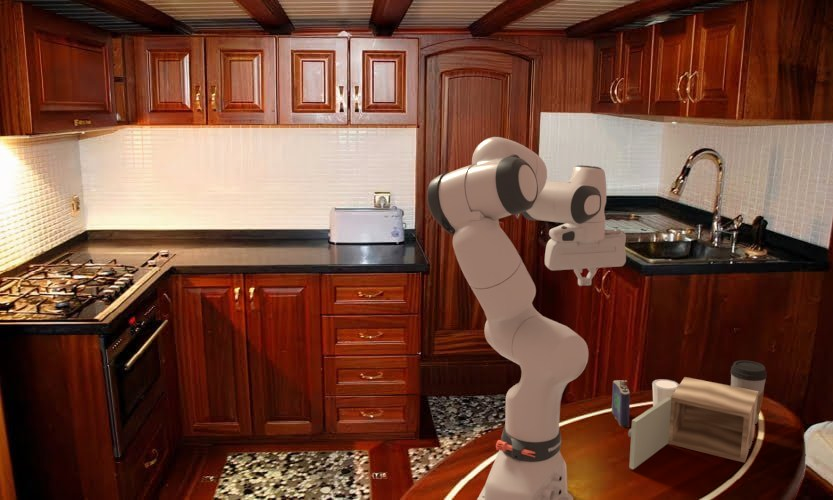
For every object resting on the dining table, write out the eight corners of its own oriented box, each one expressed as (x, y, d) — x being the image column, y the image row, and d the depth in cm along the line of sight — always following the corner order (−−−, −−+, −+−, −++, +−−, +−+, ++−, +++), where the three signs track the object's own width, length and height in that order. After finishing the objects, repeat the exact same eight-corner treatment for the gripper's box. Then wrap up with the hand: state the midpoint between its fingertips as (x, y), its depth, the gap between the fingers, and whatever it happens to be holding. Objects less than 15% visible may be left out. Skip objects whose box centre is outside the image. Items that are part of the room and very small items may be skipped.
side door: (624, 465, 159) (626, 418, 156) (659, 440, 170) (662, 395, 168) (633, 469, 157) (636, 421, 155) (668, 443, 169) (671, 398, 166)
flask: (610, 411, 187) (612, 373, 184) (621, 411, 187) (623, 373, 184) (620, 427, 178) (622, 388, 175) (632, 427, 178) (634, 387, 175)
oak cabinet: (744, 462, 160) (749, 413, 158) (667, 443, 169) (670, 397, 167) (754, 437, 172) (758, 391, 169) (681, 420, 181) (684, 376, 178)
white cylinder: (680, 415, 184) (681, 390, 182) (652, 413, 185) (654, 388, 184) (676, 403, 190) (677, 379, 189) (649, 402, 192) (650, 378, 190)
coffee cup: (759, 431, 175) (765, 374, 171) (723, 423, 179) (728, 368, 176) (763, 418, 181) (769, 363, 178) (728, 411, 186) (733, 357, 182)
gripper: (620, 226, 179) (618, 279, 182) (543, 230, 176) (541, 284, 179) (631, 231, 173) (629, 285, 176) (551, 235, 170) (550, 290, 173)
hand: (584, 285), depth 177 cm, fingers closed
